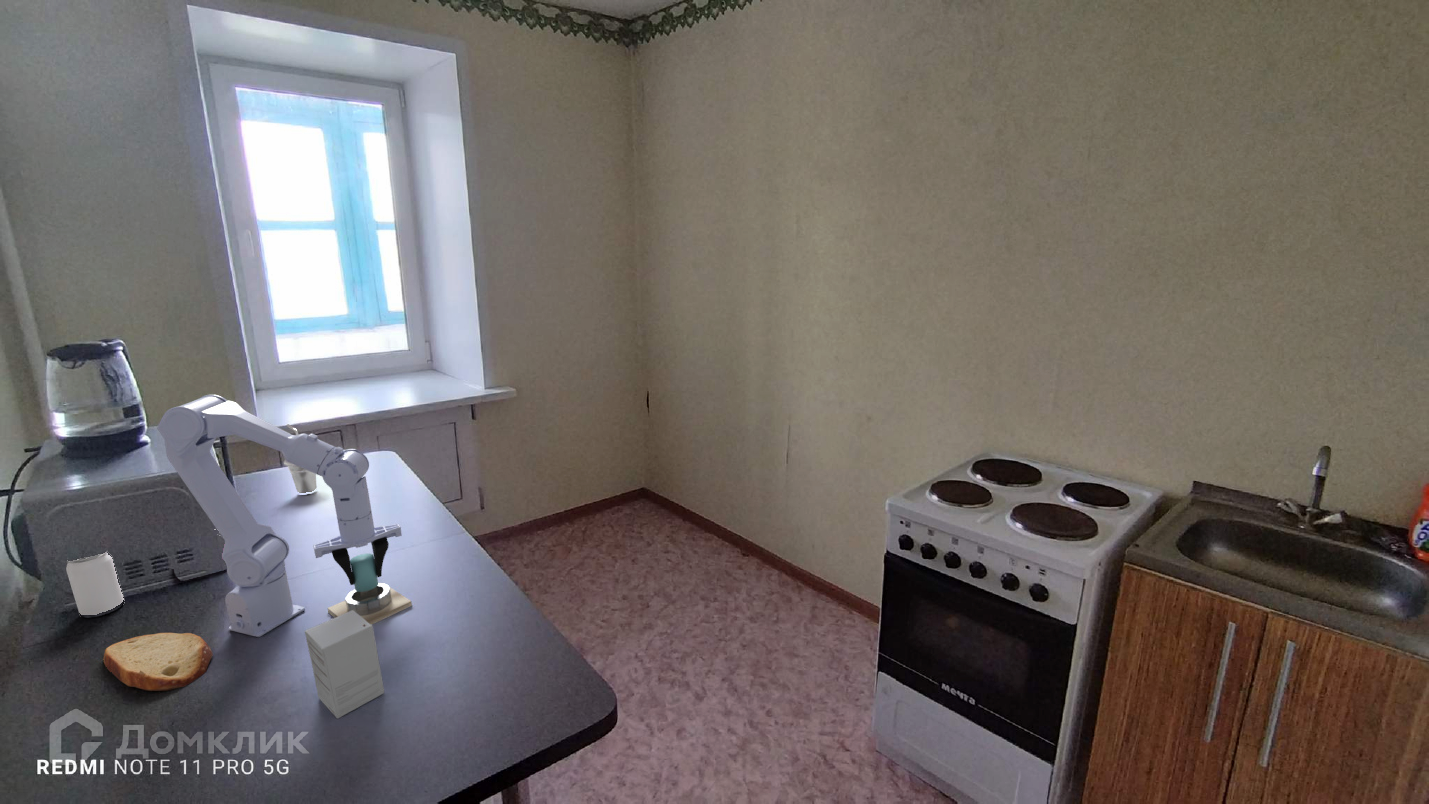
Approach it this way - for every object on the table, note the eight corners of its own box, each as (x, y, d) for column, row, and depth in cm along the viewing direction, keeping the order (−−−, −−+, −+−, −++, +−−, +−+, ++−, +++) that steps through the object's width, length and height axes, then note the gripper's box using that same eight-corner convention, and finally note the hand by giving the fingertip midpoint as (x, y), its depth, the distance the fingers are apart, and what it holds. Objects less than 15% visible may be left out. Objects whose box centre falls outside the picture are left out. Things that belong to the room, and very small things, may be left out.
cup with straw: (288, 501, 174) (275, 433, 169) (291, 490, 182) (279, 424, 177) (323, 494, 178) (311, 428, 173) (325, 484, 186) (314, 420, 181)
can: (134, 601, 126) (119, 547, 123) (100, 620, 119) (84, 564, 116) (105, 599, 126) (90, 546, 123) (70, 618, 120) (53, 562, 117)
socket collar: (369, 618, 118) (367, 607, 117) (338, 611, 120) (336, 600, 119) (399, 597, 124) (397, 586, 124) (370, 591, 127) (368, 580, 126)
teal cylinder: (366, 592, 119) (361, 564, 118) (350, 590, 120) (345, 562, 119) (383, 582, 123) (378, 554, 121) (367, 580, 124) (362, 552, 122)
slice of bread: (114, 649, 112) (108, 631, 111) (234, 626, 118) (230, 608, 117) (55, 718, 95) (48, 697, 94) (198, 687, 102) (193, 667, 101)
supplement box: (366, 674, 104) (354, 608, 101) (385, 694, 99) (374, 625, 96) (317, 699, 98) (303, 629, 95) (335, 720, 94) (321, 648, 91)
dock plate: (411, 605, 123) (411, 601, 123) (354, 632, 115) (353, 628, 115) (384, 587, 130) (384, 583, 130) (328, 612, 121) (327, 608, 121)
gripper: (311, 533, 110) (324, 600, 113) (400, 511, 118) (410, 575, 122) (307, 519, 115) (320, 584, 119) (393, 499, 124) (402, 560, 127)
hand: (365, 578), depth 121 cm, fingers closed on teal cylinder, 4 cm apart
